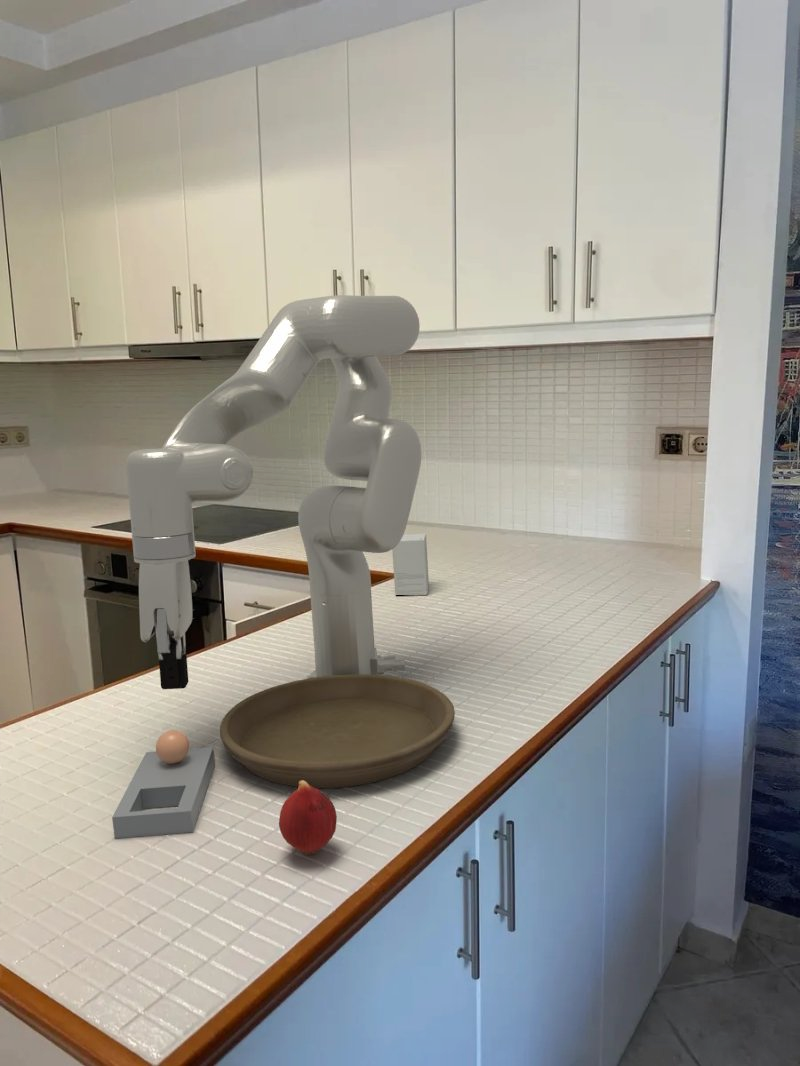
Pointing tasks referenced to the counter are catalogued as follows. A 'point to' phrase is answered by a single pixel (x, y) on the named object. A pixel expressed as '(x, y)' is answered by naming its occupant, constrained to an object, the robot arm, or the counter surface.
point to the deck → (164, 795)
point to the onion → (307, 819)
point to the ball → (172, 746)
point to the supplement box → (411, 565)
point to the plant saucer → (337, 729)
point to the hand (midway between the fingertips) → (175, 686)
